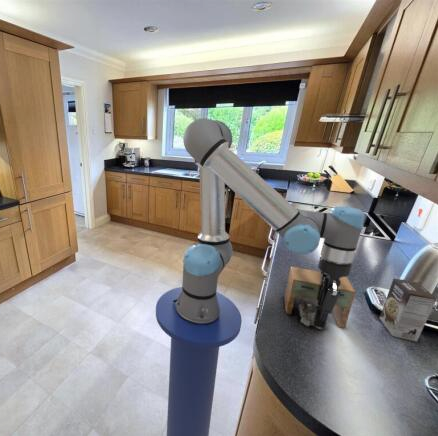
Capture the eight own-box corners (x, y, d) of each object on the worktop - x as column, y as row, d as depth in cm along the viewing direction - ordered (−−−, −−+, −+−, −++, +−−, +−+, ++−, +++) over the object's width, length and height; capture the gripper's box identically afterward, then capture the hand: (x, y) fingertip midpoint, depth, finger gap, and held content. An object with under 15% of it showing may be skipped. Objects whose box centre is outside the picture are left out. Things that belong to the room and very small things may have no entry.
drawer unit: (286, 313, 87) (293, 279, 82) (284, 297, 95) (290, 266, 91) (344, 328, 80) (356, 292, 75) (336, 310, 88) (346, 276, 84)
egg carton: (297, 306, 90) (299, 297, 89) (321, 312, 87) (324, 303, 86) (299, 324, 81) (301, 314, 80) (326, 332, 78) (329, 321, 77)
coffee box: (378, 318, 85) (392, 277, 80) (401, 322, 82) (418, 281, 78) (391, 336, 77) (408, 292, 72) (418, 342, 74) (438, 297, 69)
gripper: (359, 272, 64) (337, 343, 71) (345, 253, 75) (328, 317, 82) (325, 266, 67) (308, 335, 74) (316, 249, 78) (302, 310, 85)
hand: (318, 325), depth 78 cm, fingers closed
